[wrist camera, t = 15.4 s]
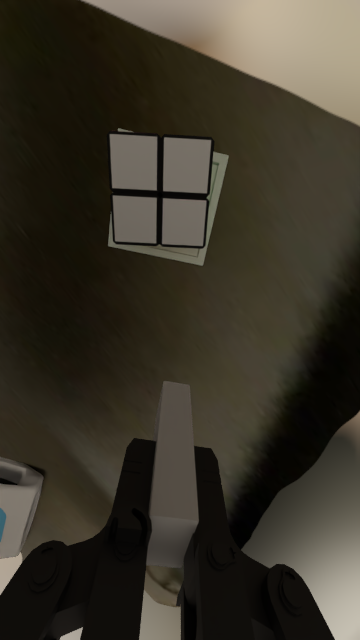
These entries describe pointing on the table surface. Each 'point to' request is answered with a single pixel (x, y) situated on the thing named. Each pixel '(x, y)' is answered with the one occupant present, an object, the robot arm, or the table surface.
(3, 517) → the step stool
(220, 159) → the baseplate
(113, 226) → the puzzle cube
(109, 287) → the table surface
